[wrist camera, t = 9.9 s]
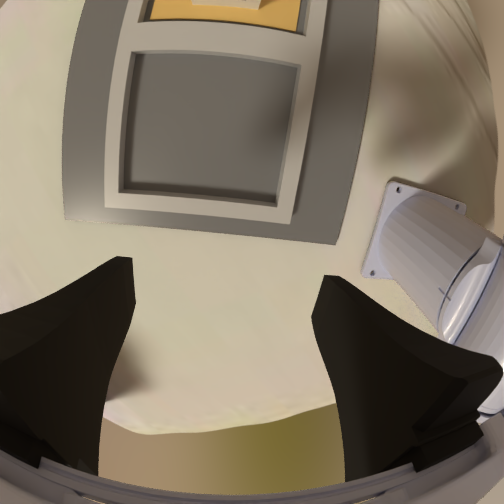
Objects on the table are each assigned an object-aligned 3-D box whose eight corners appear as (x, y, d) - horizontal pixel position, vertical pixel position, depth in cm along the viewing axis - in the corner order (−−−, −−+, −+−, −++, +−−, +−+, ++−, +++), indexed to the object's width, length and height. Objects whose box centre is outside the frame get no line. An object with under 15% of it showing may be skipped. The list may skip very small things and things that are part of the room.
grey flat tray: (376, -47, 10) (384, -53, 8) (333, 242, 20) (340, 251, 19) (119, -73, 7) (114, -81, 6) (68, 217, 18) (58, 224, 16)
